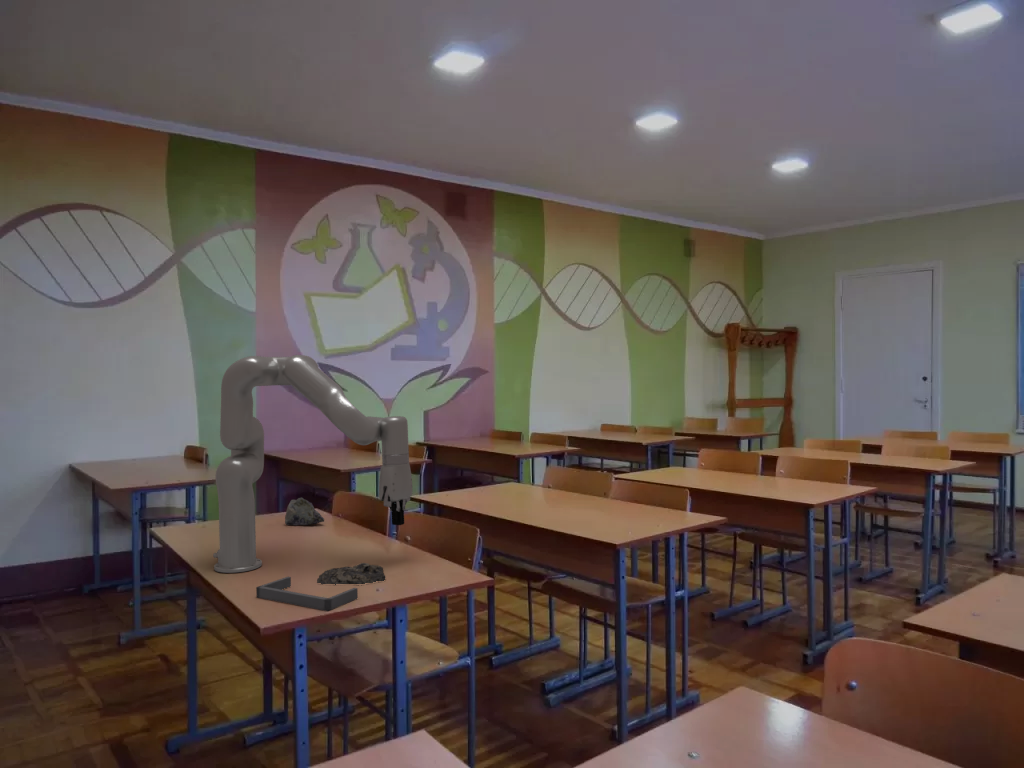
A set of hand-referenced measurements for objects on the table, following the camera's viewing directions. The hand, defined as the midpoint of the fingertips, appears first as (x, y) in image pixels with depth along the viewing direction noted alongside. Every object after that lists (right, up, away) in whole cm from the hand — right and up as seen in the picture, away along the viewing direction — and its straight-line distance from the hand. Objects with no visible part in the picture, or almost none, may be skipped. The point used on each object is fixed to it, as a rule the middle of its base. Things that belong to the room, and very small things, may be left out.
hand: (398, 524), depth 206 cm
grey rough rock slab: (-9, -12, -14) cm, 21 cm away
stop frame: (-17, -12, -31) cm, 37 cm away
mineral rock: (-42, -11, +55) cm, 70 cm away
